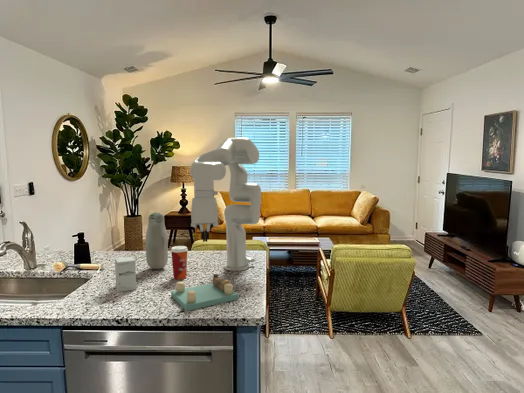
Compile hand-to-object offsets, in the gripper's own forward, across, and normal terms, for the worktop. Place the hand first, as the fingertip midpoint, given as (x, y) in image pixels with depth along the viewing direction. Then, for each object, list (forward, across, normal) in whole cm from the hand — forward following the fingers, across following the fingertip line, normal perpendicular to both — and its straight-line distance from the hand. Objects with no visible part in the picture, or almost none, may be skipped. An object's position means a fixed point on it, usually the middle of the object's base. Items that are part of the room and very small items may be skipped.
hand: (205, 240), depth 143 cm
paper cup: (+22, +11, -24) cm, 35 cm away
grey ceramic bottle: (+22, +22, -40) cm, 51 cm away
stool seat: (+22, +1, +3) cm, 22 cm away
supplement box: (+22, +33, -14) cm, 42 cm away
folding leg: (+20, -6, -1) cm, 20 cm away
